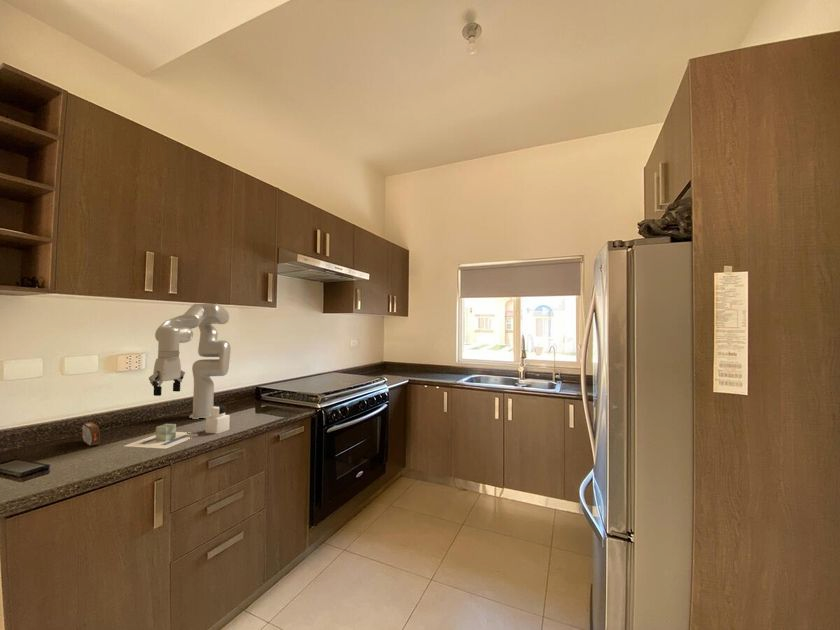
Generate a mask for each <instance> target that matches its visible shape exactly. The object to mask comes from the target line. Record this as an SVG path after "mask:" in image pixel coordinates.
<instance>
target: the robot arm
mask: <svg viewBox="0 0 840 630" xmlns="http://www.w3.org/2000/svg"><path fill="white" fill-rule="evenodd" d="M229 319H230V314H229V312H228V310H227V309H226V308H225V307H223V306H222V305H220V304H219V305H218V303H216V304H196V303H194V304H192V305H191V306H190V307H189V309H187V310H186V311H185V312H184V314H182V315H177V316H175V317H173V318H169V319H167V320H164V322H162V323H161V324H160V325H159V327H157V329H156V330H155V334H154V337H155V340H156V341H157V342H158V344H157V345H158V347H157V358H156V359H155V363H154V365H153V373H152V374H151V375H150V376H149V377H148V380H149V383H150V384H151V386H152V387H153V396H155V397H157V396H158V397H161V396H162V386H161V385H162V384H163V383H164V382H169V381H173V384H172V392H178V393H179V392H181V383H182V382H183V379H184V377H185V374H186V372H185V371H183V370H182V367H181V366H182V365H181V364H182V363H181V358H180V343H181V344H184V343H185V344H186V343H189V342H190V341H192V340H193V338H194V331H193V330H192V329H195V328H198V329H199V333H200V335H199V340H198V348H197V353H198V356H199V357H202V358H207V359H198V360H197V359H196V361H194V362H193V364H192V365H191V370H192V371H191V372H192V376H193V377H192V378H193V396H192V397H193V399H192V413H191V414H190V415H189V419H190V418H192V420H200V419H199V418H204V419H206V418H207V417H210V416H211V408H212V407H213V406H214V397H215V395H214V393H215V390H214V389H215V384H214V381H213V379H212V378H211V377H225V376H226V375H227V374H228V372H229V367H230V361H231V360H230V358H231V344H230V342H229V341H227V340H218V335H219V334H218V330H217V329H216V328H215V326H214V325H226V324H227V323H228V322H229ZM208 358H211V359H208ZM213 358H214V359H213ZM215 358H218V359H215Z"/></svg>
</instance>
